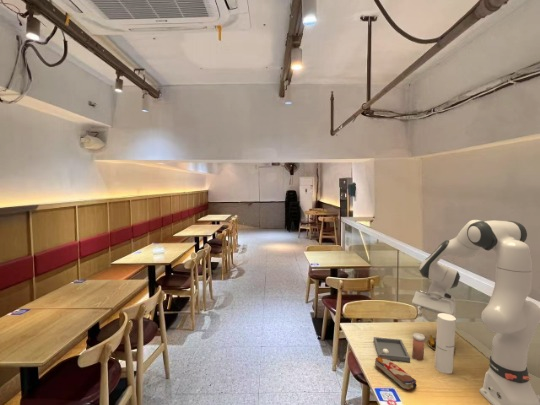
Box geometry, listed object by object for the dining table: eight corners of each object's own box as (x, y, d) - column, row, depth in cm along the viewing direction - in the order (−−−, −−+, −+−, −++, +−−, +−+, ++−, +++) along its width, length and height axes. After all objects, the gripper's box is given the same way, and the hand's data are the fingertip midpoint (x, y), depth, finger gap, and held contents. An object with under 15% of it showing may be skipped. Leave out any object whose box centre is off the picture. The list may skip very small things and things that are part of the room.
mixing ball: (389, 356, 145) (389, 351, 145) (382, 356, 145) (383, 350, 145) (387, 353, 148) (388, 347, 148) (381, 352, 148) (381, 347, 148)
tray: (410, 362, 142) (410, 357, 141) (379, 359, 144) (379, 354, 144) (401, 344, 157) (401, 339, 157) (373, 341, 160) (373, 337, 159)
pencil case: (393, 362, 142) (393, 352, 142) (420, 391, 123) (421, 380, 122) (372, 364, 140) (372, 354, 140) (396, 394, 121) (396, 383, 120)
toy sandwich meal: (452, 343, 158) (452, 335, 158) (457, 358, 146) (458, 349, 145) (425, 339, 163) (426, 330, 162) (429, 352, 150) (429, 343, 150)
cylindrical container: (455, 374, 133) (458, 321, 131) (437, 372, 135) (440, 319, 132) (448, 364, 140) (452, 313, 138) (432, 362, 141) (435, 312, 139)
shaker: (425, 361, 143) (426, 339, 142) (413, 360, 144) (414, 338, 143) (421, 354, 148) (422, 333, 147) (410, 353, 149) (411, 332, 148)
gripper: (415, 286, 164) (406, 308, 158) (457, 297, 149) (449, 322, 143) (418, 292, 167) (409, 314, 162) (459, 303, 152) (452, 328, 147)
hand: (428, 318), depth 152 cm, fingers open, 8 cm apart
